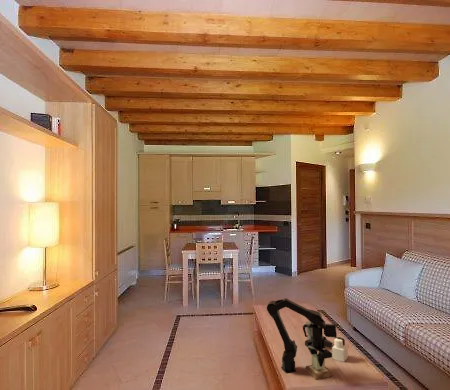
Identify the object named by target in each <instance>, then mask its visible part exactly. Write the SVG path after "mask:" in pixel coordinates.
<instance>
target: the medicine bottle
mask: <svg viewBox="0 0 450 390" xmlns="http://www.w3.org/2000/svg"><path fill="white" fill-rule="evenodd" d="M333 341H334V343H333V344H334V345H332V347H331V353H332V360H335V361H339V362H342V363H345V361H346V360H348V358H349V351H348V346H347V345H346V342H345V341H346V340H345V339H344V338H343V337H342V336H341V337H338V336H337V338H333Z"/></svg>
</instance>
